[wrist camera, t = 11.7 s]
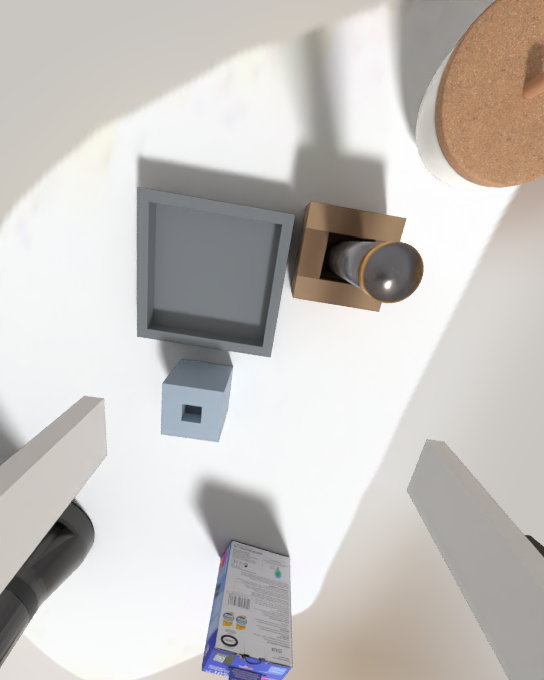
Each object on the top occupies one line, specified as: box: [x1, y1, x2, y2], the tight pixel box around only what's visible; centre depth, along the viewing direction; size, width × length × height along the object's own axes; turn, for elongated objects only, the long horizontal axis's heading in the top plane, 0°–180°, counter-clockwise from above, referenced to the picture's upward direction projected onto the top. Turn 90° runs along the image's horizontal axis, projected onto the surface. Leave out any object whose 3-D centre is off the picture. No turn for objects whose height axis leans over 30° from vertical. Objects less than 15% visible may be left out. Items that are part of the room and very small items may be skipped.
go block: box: [291, 202, 406, 312], centre depth 27 cm, size 8×8×4 cm
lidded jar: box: [416, 0, 544, 190], centre depth 21 cm, size 11×11×9 cm
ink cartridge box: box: [202, 541, 293, 680], centre depth 38 cm, size 10×6×14 cm, turn 68°
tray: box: [137, 187, 295, 357], centre depth 29 cm, size 14×14×2 cm
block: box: [161, 359, 233, 442], centre depth 32 cm, size 6×6×6 cm
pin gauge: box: [324, 241, 423, 303], centre depth 21 cm, size 3×3×14 cm
